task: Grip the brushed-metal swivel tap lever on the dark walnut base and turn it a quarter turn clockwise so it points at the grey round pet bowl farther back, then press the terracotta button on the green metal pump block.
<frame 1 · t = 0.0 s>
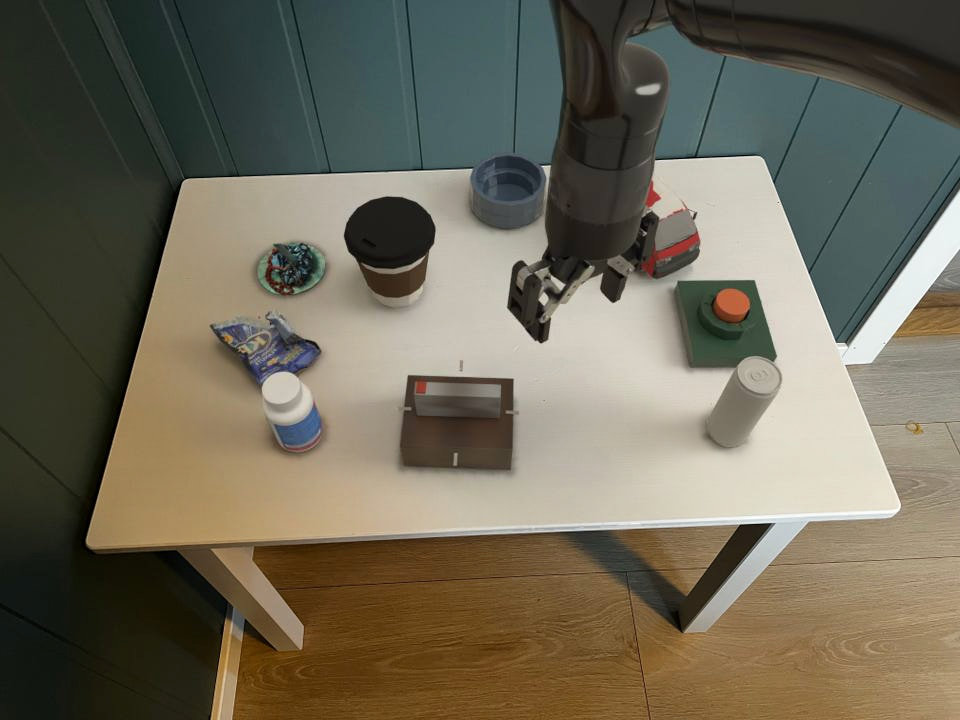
hand: (574, 315, 69), 20 cm above the table, tool pointing down, fingers open, 8 cm apart
toy car: (633, 238, 101), on the table
grey round pet bowl: (507, 204, 105), on the table
snack package: (272, 353, 90), on the table
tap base: (459, 432, 84), on the table
coffee cup: (398, 291, 96), on the table
pump block: (720, 327, 93), on the table
beverage can: (725, 431, 85), on the table
dish: (292, 270, 98), on the table
button: (731, 305, 89), point 4 cm above the table, slide at 0.1 cm
tap: (458, 399, 78), point 7 cm above the table, hinge at 0.0°
pill bottle: (300, 433, 84), on the table
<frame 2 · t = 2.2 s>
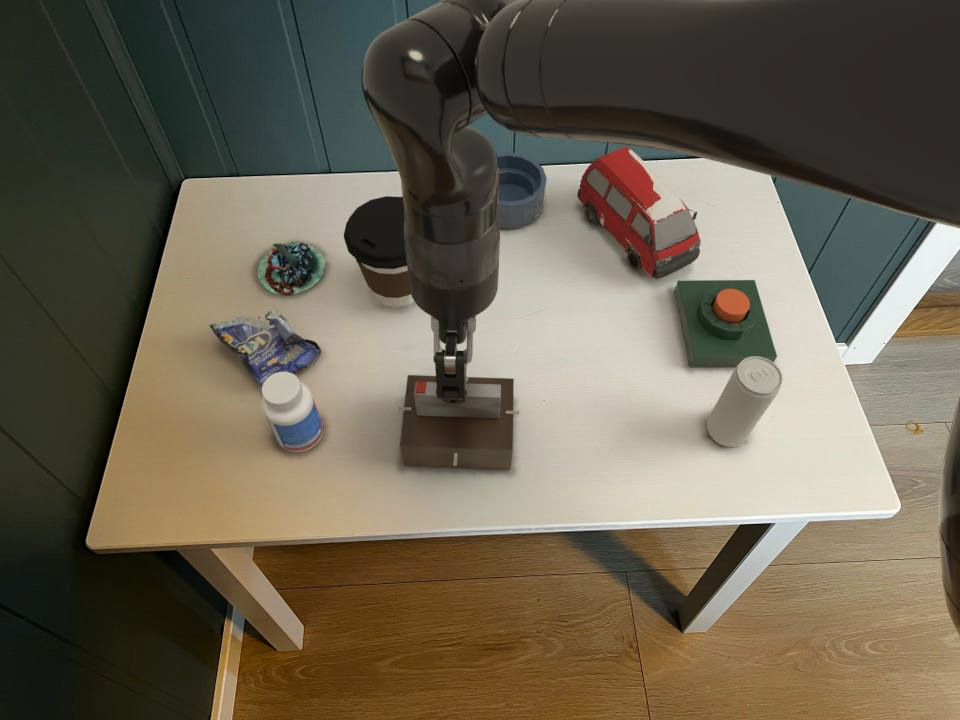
hand: (456, 362, 72), 15 cm above the table, tool pointing down, fingers open, 8 cm apart
nothing on the table moved.
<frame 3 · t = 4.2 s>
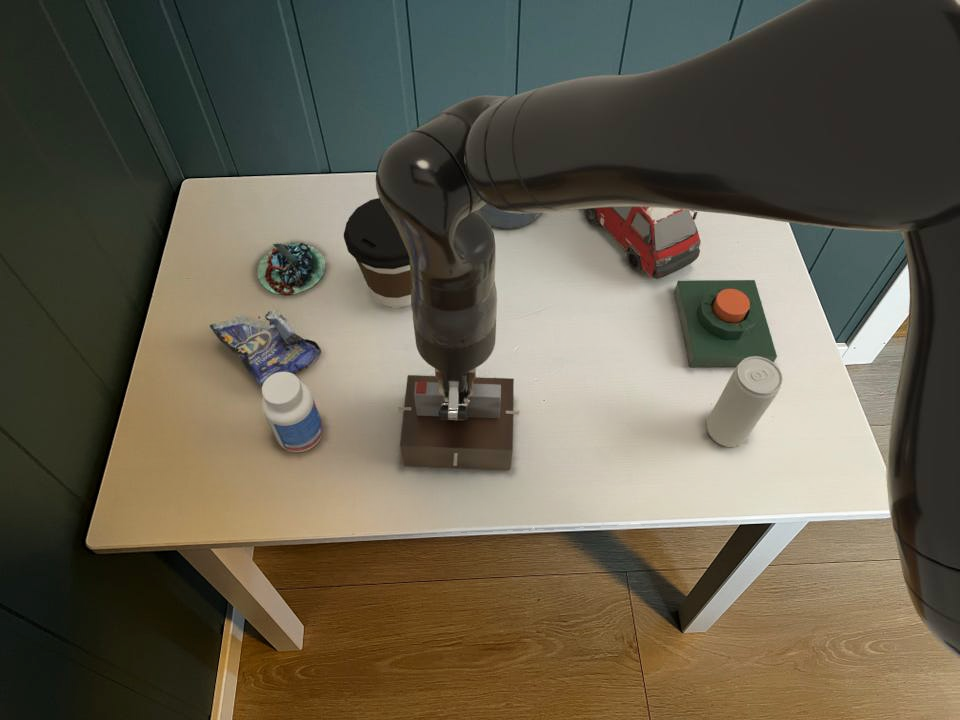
hand: (458, 408, 80), 6 cm above the table, tool pointing down, fingers closed on tap
tap: (458, 399, 78), point 7 cm above the table, hinge at 0.0°, touching gripper
everything else where it was.
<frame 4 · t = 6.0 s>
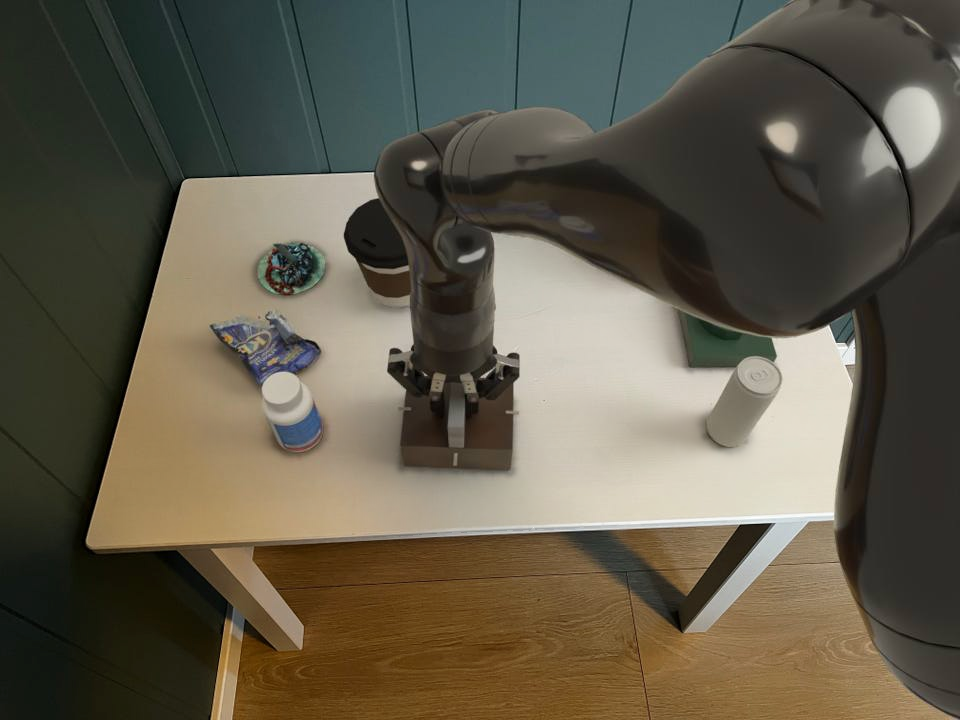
hand: (455, 409, 80), 5 cm above the table, tool pointing down, fingers closed
tap: (458, 399, 78), point 7 cm above the table, hinge at -89.8°
everything else where it was.
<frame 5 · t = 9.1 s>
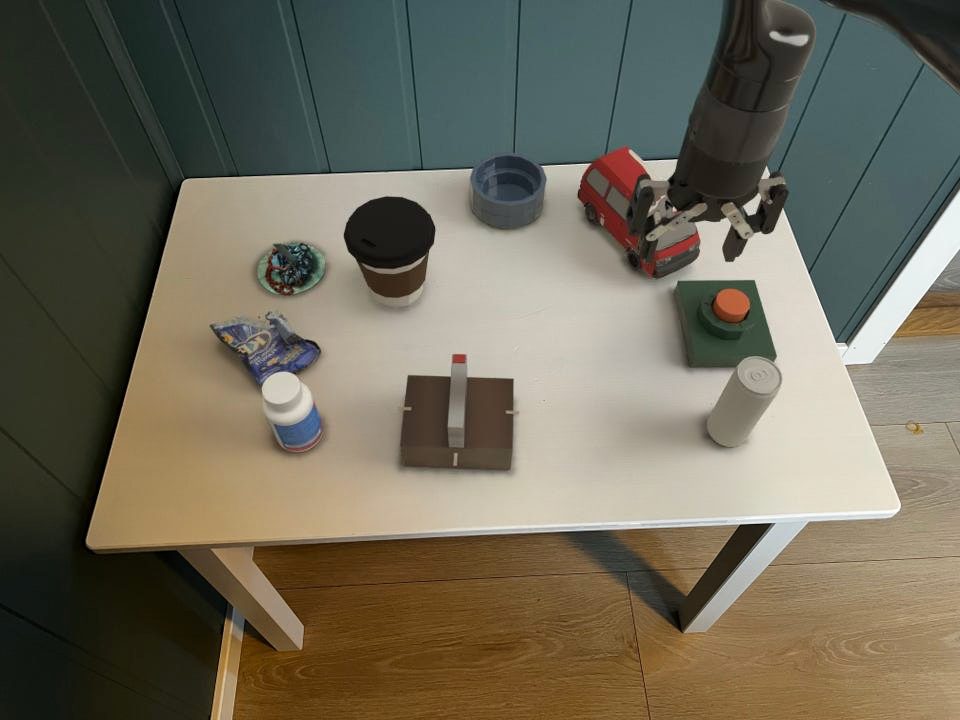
hand: (686, 256, 76), 17 cm above the table, tool pointing down, fingers open, 8 cm apart
nothing on the table moved.
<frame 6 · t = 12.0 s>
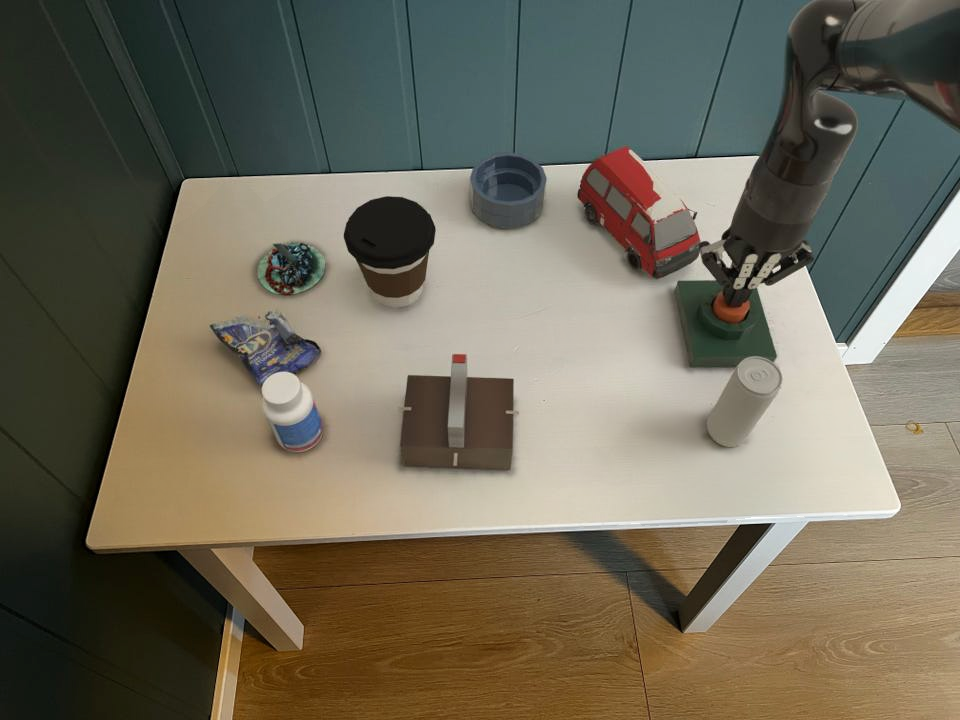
hand: (732, 301, 88), 5 cm above the table, tool pointing down, fingers closed
button: (730, 306, 89), point 4 cm above the table, slide at 0.0 cm, touching gripper
everything else where it was.
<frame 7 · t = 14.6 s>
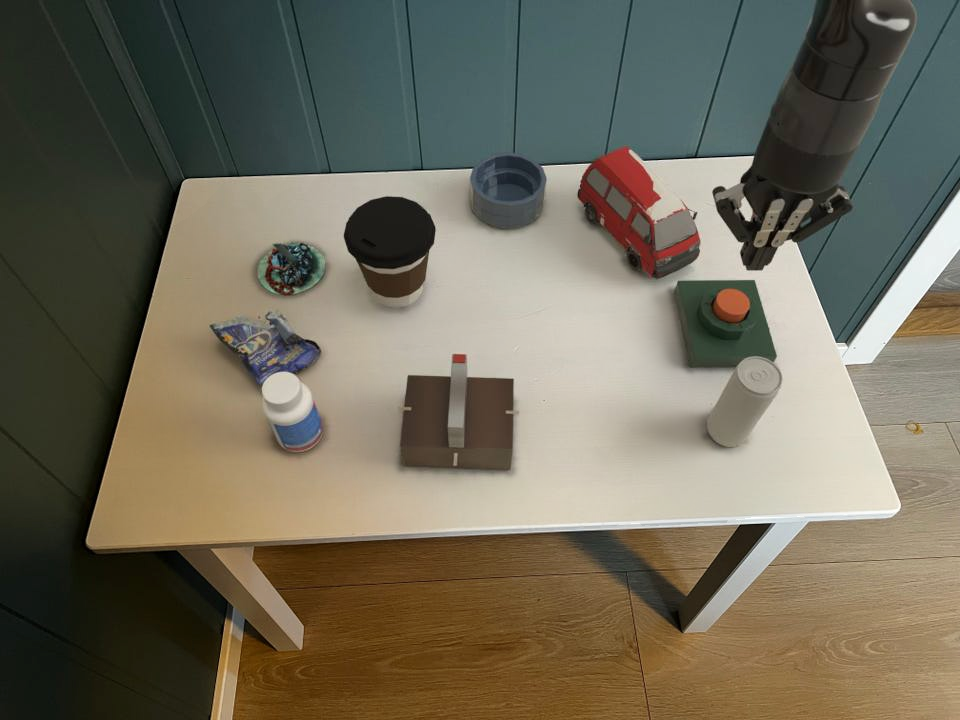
hand: (752, 264, 74), 18 cm above the table, tool pointing down, fingers closed
button: (731, 305, 89), point 4 cm above the table, slide at 0.1 cm
everything else where it was.
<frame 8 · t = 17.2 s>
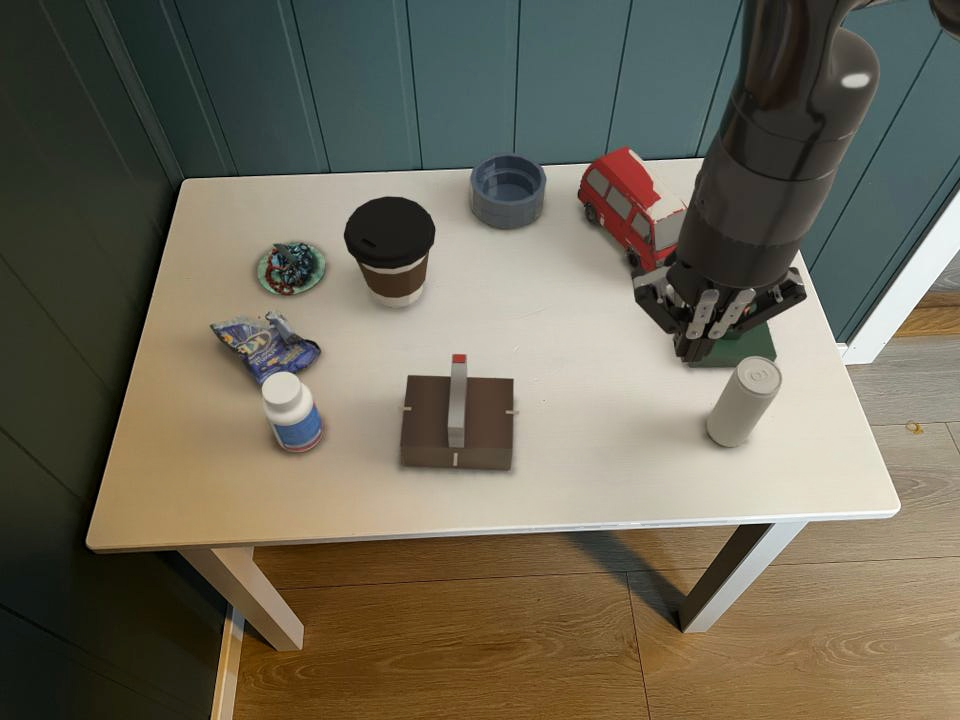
hand: (688, 353, 60), 25 cm above the table, tool pointing down, fingers closed
nothing on the table moved.
at the end: tap at -90° (first picture: +0°); tap 37.5 cm from the grey round pet bowl (horizontally); button pushed in 1.0 cm at the most during the clip, back to where it started at the end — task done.
